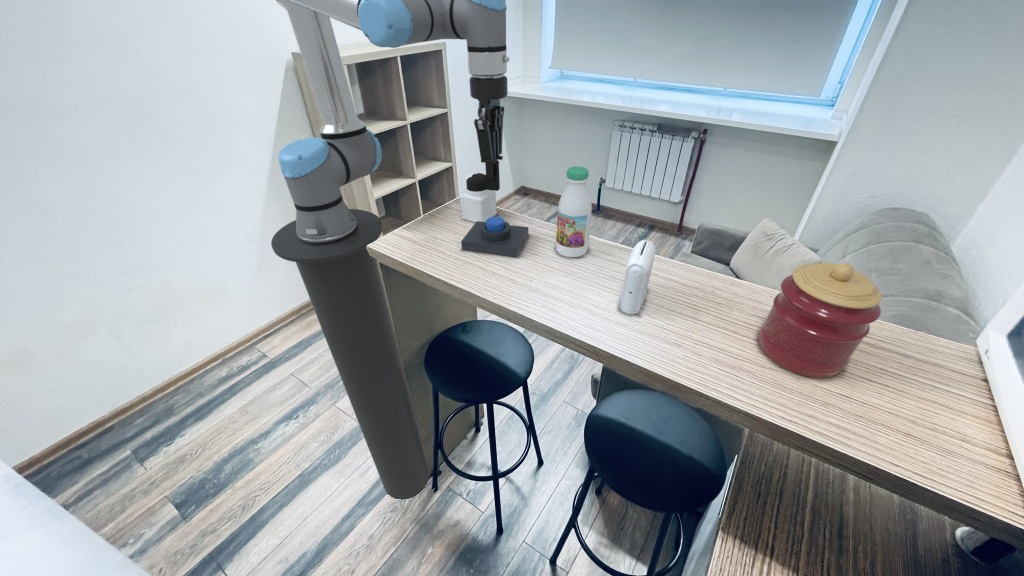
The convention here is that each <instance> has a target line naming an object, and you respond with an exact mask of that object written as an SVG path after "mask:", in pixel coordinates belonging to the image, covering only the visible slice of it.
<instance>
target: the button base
mask: <svg viewBox="0 0 1024 576" xmlns="http://www.w3.org/2000/svg"><path fill="white" fill-rule="evenodd" d="M528 237H529V227H528V226H522V225H521V226H520V225H513V224H510V223H509V222H508V221H506V220H504V230H501V231H497V232H492V231H488V230H487V229H486V222H480V221H477V222H474V224H473V225H472V226H471V228H470V229H469V230H468V232H466V234H465V235H464V237H463V238H462V240H461V250H462V251H465V252H466V251H468V252H473V253H482V254H488V255H495V256H496V255H497V256H504V257H510V258H518V256H519V254H520V253H521V251H522V249H523V247H524V245H525V244H526V241H527V239H528Z"/></svg>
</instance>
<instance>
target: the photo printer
mask: <svg viewBox="0 0 1024 576" xmlns="http://www.w3.org/2000/svg"><path fill="white" fill-rule="evenodd" d="M655 257H656V246H655V244H654V243H653V242H652V241H651V240H647V239H642V240H640V241H638V242H637V243H636V244H635V245H634V247H633V248H632V250H631V252H630V254H629V256H628V259H627V263H626V267H625V273H624V280H623V284H622V285H623V286H622V290H621V297H620V300H619V301H620V302H619V310H621V312H623V313H624V314H627V315H637V314H639V313H640V311H641V309H642V306H643V304H644V300H645V299H646V296H647V291H648V287H649V284H650V278H651V275H652V270H653V265H654V260H655Z"/></svg>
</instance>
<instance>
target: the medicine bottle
mask: <svg viewBox="0 0 1024 576" xmlns="http://www.w3.org/2000/svg"><path fill="white" fill-rule="evenodd" d="M464 181H465V189H466V191H465V192H463V193H461V194H460V195H459V200H460V201H459V202H460V209H461V218H462V220H465V221H469V222H472V223H476V222H477V221H480V222H486V220H487V219H488V218H490V217H496V216H497V213H498V212H497V195H496V193H497V191H493V190H487V185H486V173H482V172H473V173H470V174H467V176H466V177H465V180H464Z"/></svg>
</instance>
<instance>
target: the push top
mask: <svg viewBox="0 0 1024 576" xmlns="http://www.w3.org/2000/svg"><path fill="white" fill-rule="evenodd" d="M504 221H505V220H504V218H503V217H501V216H494V217H490V218H488V219H487V220H486V229H487V230H488V231H492V232H497V231H501V230H504Z"/></svg>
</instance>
